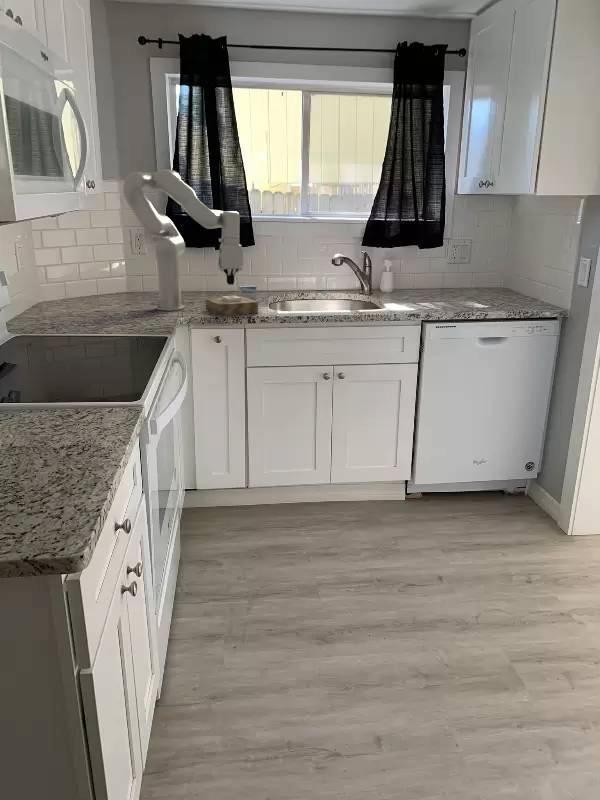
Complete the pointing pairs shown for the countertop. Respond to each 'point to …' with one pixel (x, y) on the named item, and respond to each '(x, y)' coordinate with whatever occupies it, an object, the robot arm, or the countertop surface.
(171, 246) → the robot arm
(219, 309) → the wooden block
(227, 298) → the button
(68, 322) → the countertop surface
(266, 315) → the countertop surface
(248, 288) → the medicine box
